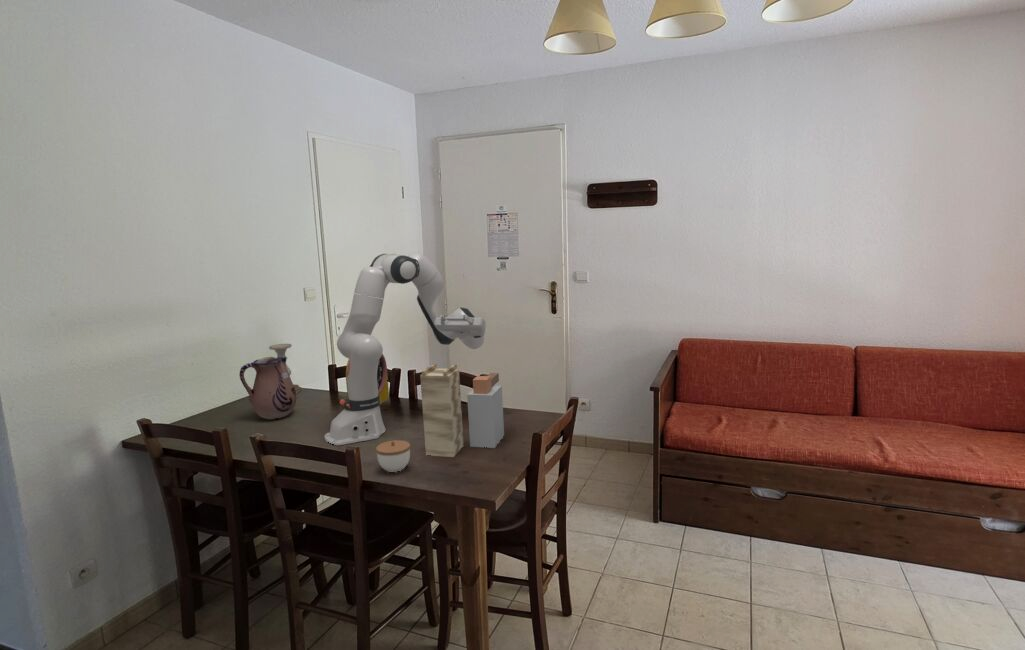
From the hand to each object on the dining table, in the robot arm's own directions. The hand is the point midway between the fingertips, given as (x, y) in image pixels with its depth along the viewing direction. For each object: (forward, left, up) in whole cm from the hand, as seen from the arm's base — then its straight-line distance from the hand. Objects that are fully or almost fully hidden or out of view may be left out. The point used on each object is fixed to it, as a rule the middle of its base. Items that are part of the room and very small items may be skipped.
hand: (453, 317), depth 229 cm
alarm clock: (-19, +48, -42) cm, 67 cm away
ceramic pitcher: (-58, +59, -42) cm, 93 cm away
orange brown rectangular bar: (-1, -23, -23) cm, 33 cm away
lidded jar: (-40, -27, -42) cm, 64 cm away
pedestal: (-3, -26, -42) cm, 50 cm away
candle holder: (-43, +95, -42) cm, 112 cm away
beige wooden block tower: (-20, -24, -42) cm, 52 cm away
